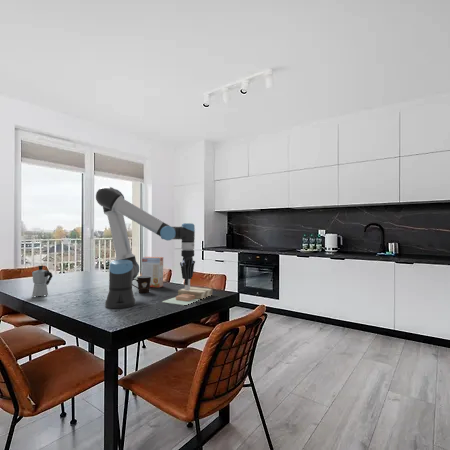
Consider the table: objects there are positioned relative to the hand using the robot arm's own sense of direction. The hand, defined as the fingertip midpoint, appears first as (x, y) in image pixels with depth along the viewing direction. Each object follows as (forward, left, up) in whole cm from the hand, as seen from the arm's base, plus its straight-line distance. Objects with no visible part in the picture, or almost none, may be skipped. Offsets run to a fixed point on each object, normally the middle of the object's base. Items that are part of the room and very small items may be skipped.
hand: (187, 290), depth 175 cm
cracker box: (+21, +43, -5) cm, 48 cm away
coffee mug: (+2, +36, -5) cm, 36 cm away
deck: (+9, 0, -5) cm, 10 cm away
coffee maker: (-35, +80, -5) cm, 87 cm away
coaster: (-2, 0, -5) cm, 5 cm away
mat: (-6, 0, -5) cm, 8 cm away
